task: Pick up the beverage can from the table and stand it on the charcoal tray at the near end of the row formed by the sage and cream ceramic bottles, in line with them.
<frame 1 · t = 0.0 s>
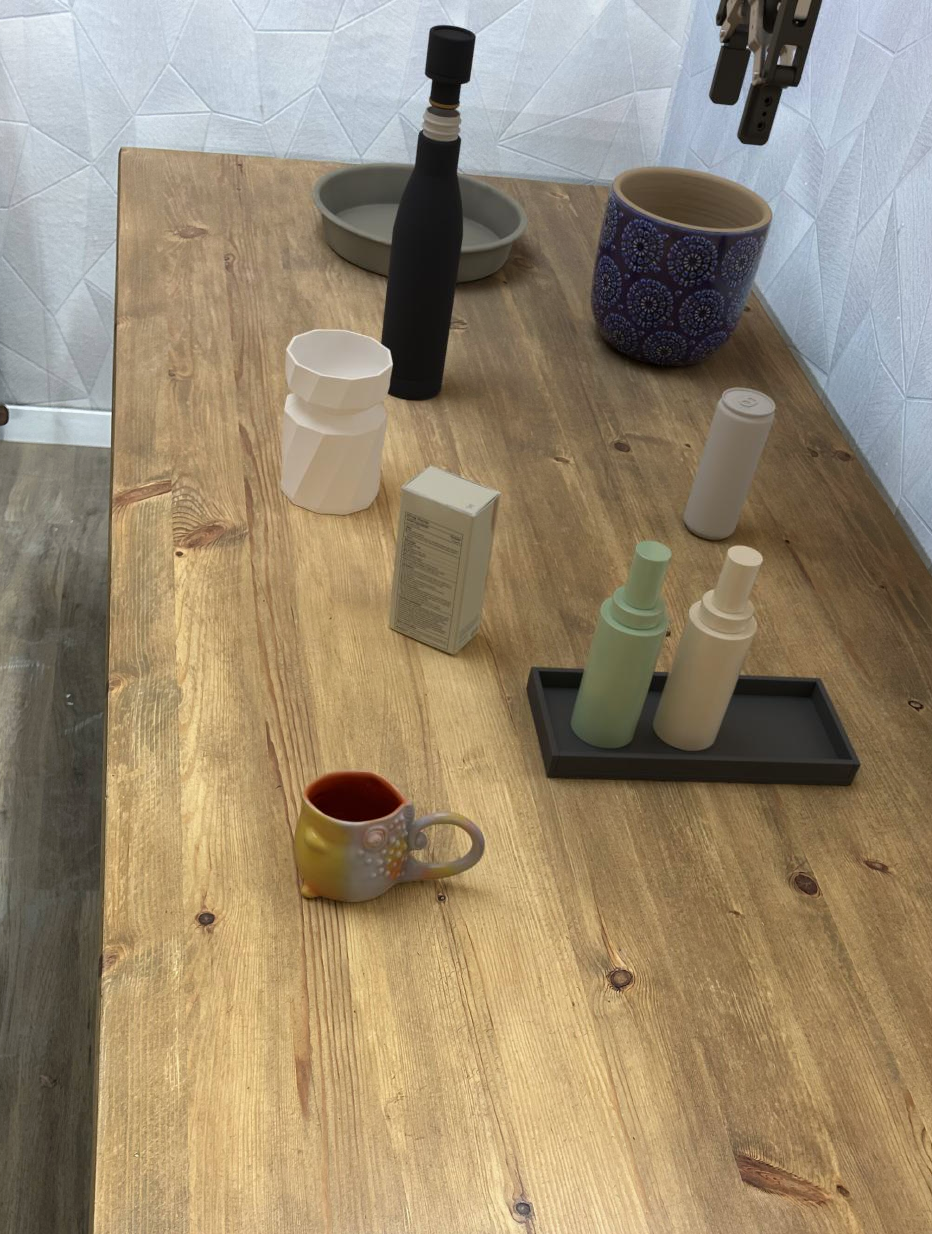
hand: (736, 122, 101), 31 cm above the table, tool pointing down, fingers open, 8 cm apart
tray: (685, 736, 101), on the table
sage bottle: (602, 727, 99), point 1 cm above the table, touching tray
cosmetic box: (431, 631, 106), on the table
vase: (328, 489, 118), on the table
mug: (383, 879, 87), on the table
black bottle: (409, 386, 133), on the table
cream bottle: (684, 730, 100), point 1 cm above the table, touching tray
planter: (654, 345, 145), on the table
beverage can: (707, 529, 121), on the table
cake pan: (415, 245, 155), on the table
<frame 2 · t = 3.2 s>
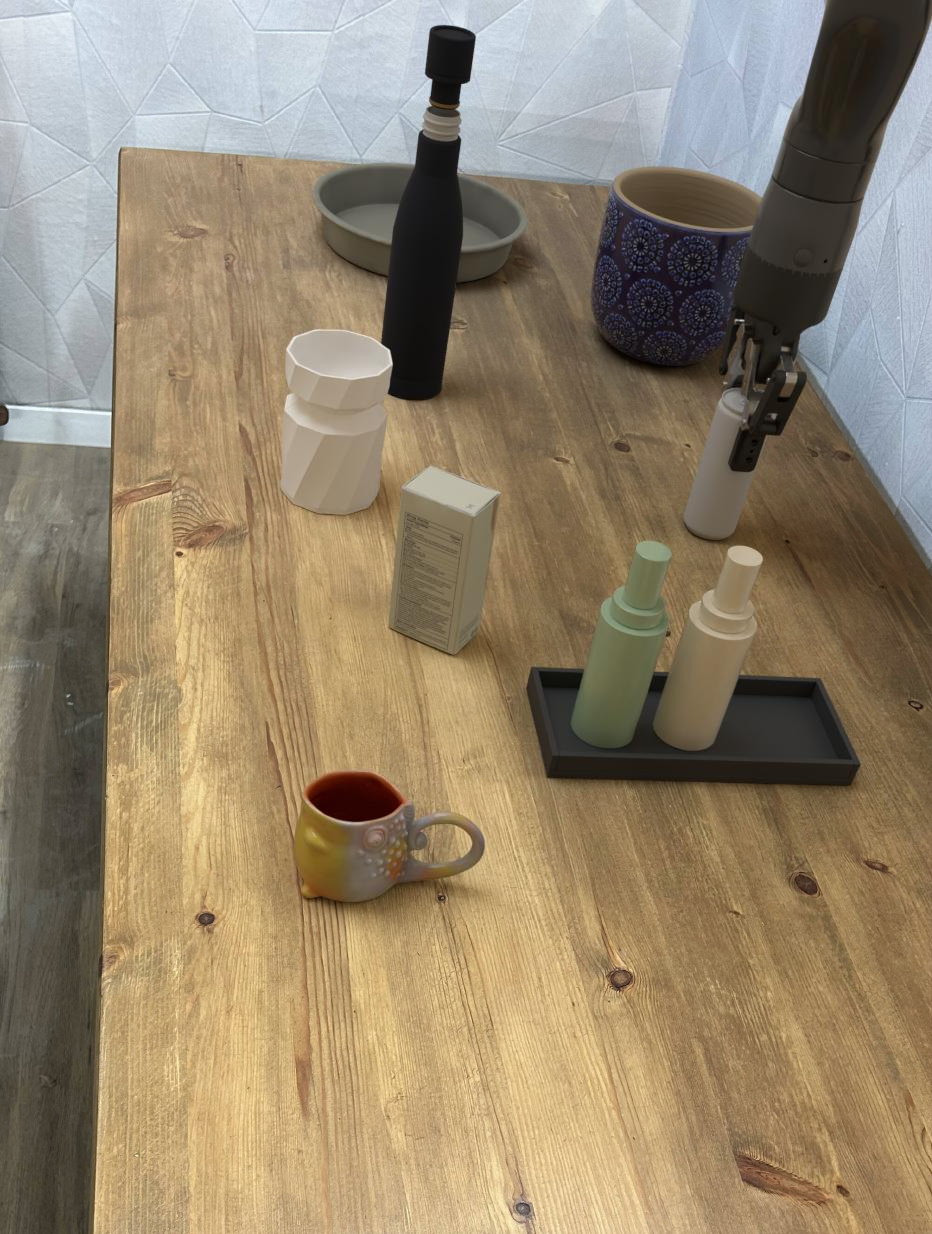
hand: (732, 451, 116), 7 cm above the table, tool pointing down, fingers closed on beverage can, 5 cm apart
beverage can: (707, 529, 121), on the table, touching gripper
everything else where it was.
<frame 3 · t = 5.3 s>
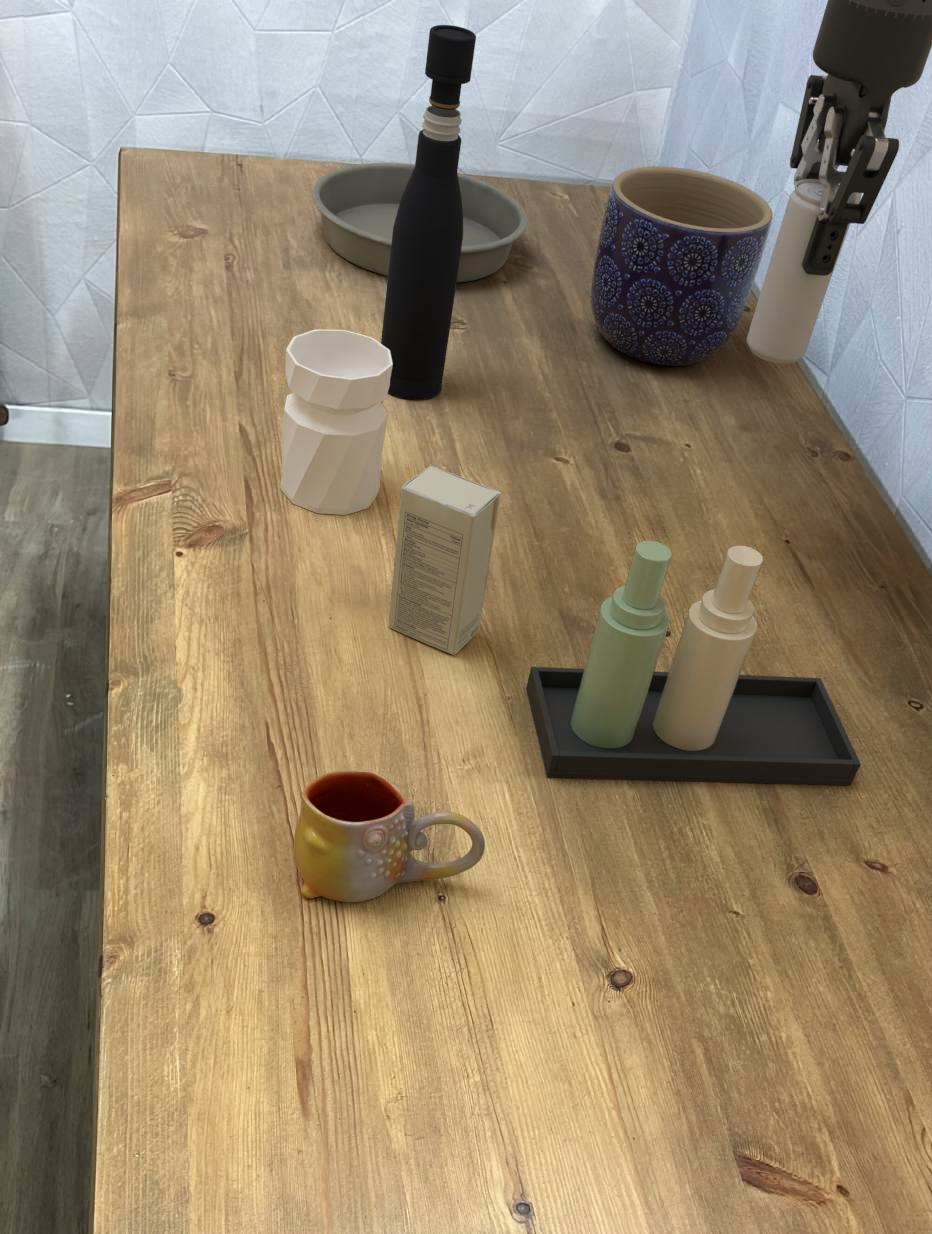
hand: (805, 256, 101), 25 cm above the table, tool pointing down, fingers closed on beverage can, 5 cm apart
beverage can: (773, 354, 107), point 17 cm above the table, touching gripper
everything else where it was.
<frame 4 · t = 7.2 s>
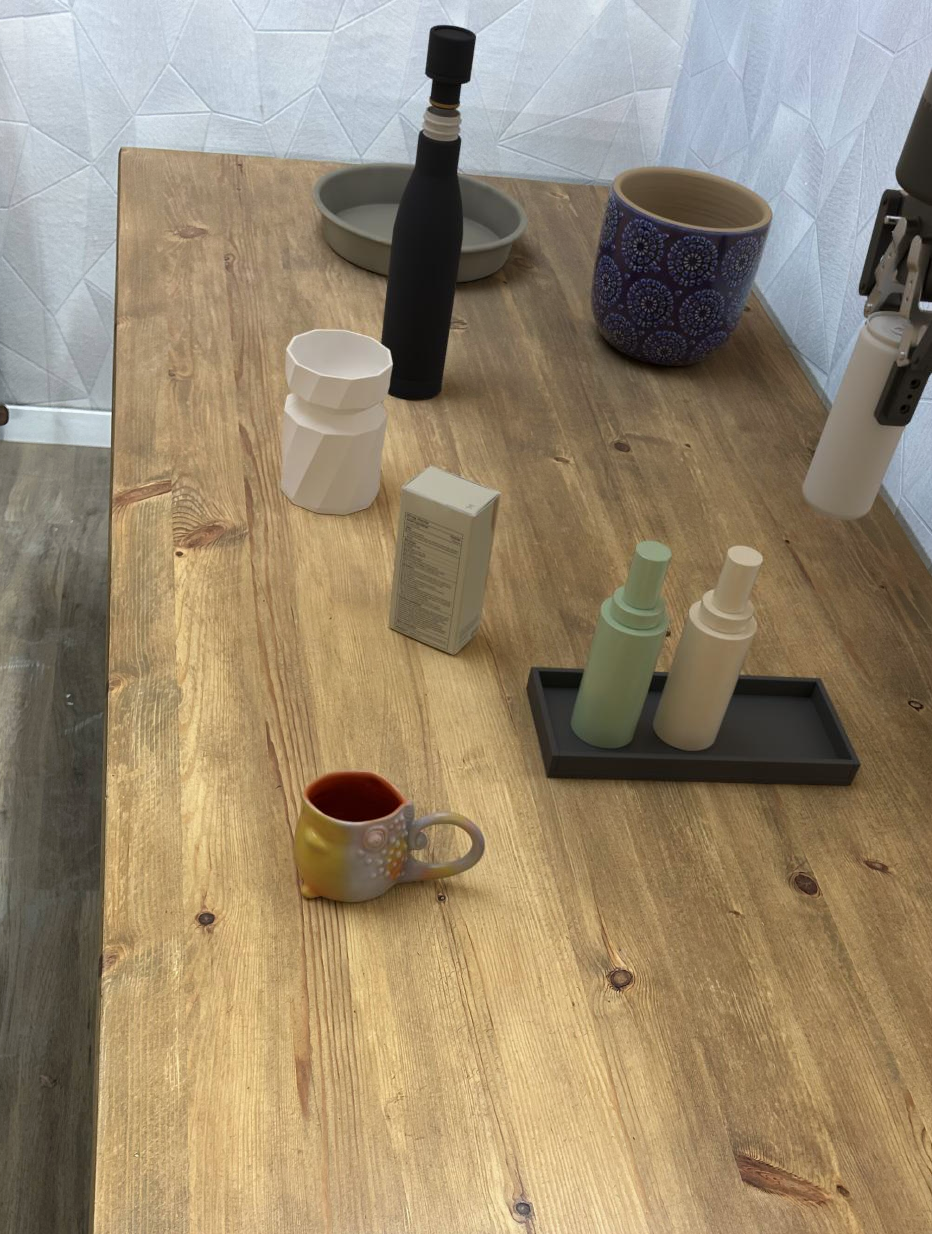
hand: (876, 400, 85), 25 cm above the table, tool pointing down, fingers closed on beverage can, 5 cm apart
beverage can: (833, 506, 91), point 18 cm above the table, touching gripper
everything else where it was.
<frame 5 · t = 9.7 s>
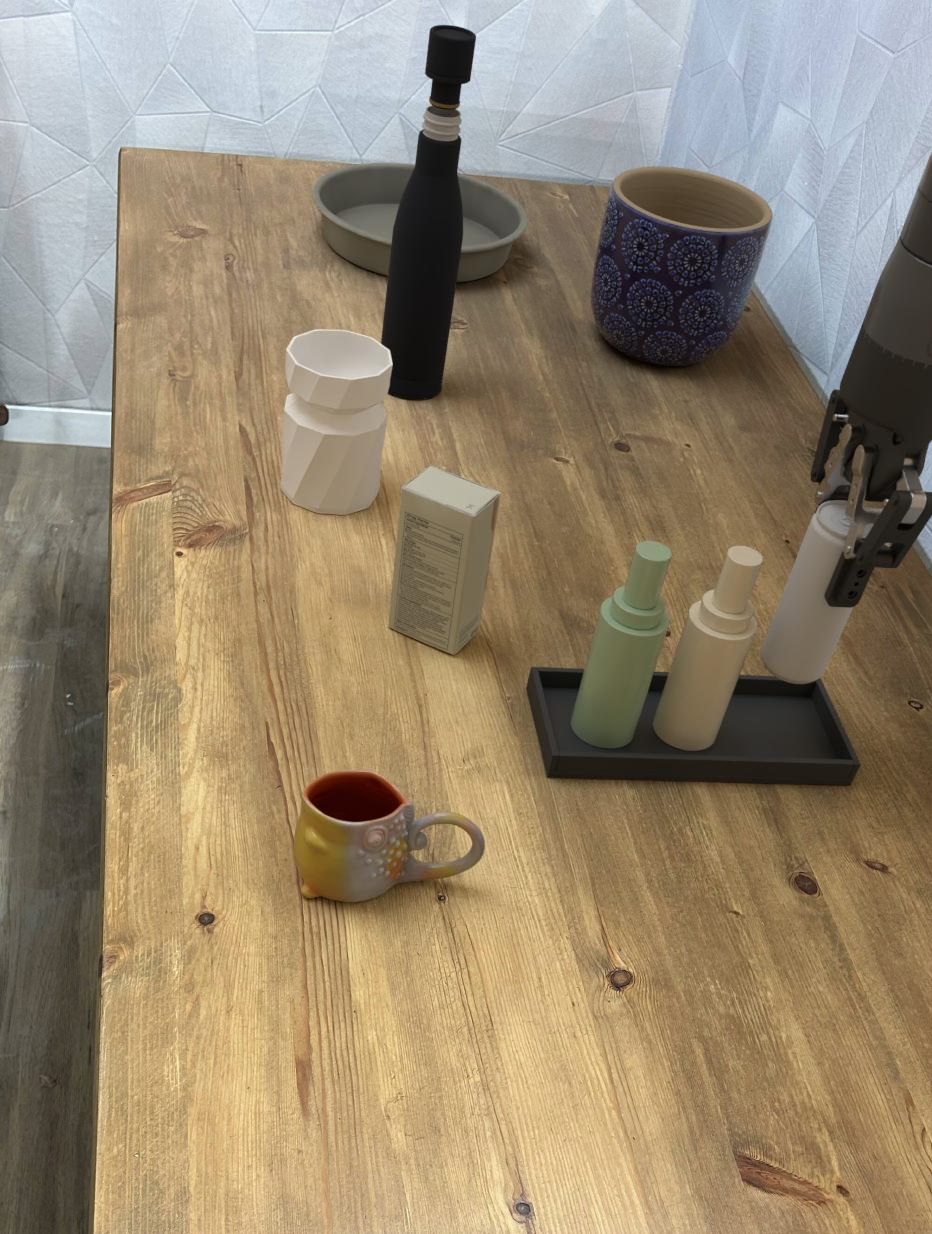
hand: (827, 579, 91), 14 cm above the table, tool pointing down, fingers closed on beverage can, 5 cm apart
beverage can: (790, 668, 97), point 7 cm above the table, touching gripper
everything else where it was.
when the fingers open (8 cm above the table, at t = 11.6 s): beverage can stays where it is, resting on tray.
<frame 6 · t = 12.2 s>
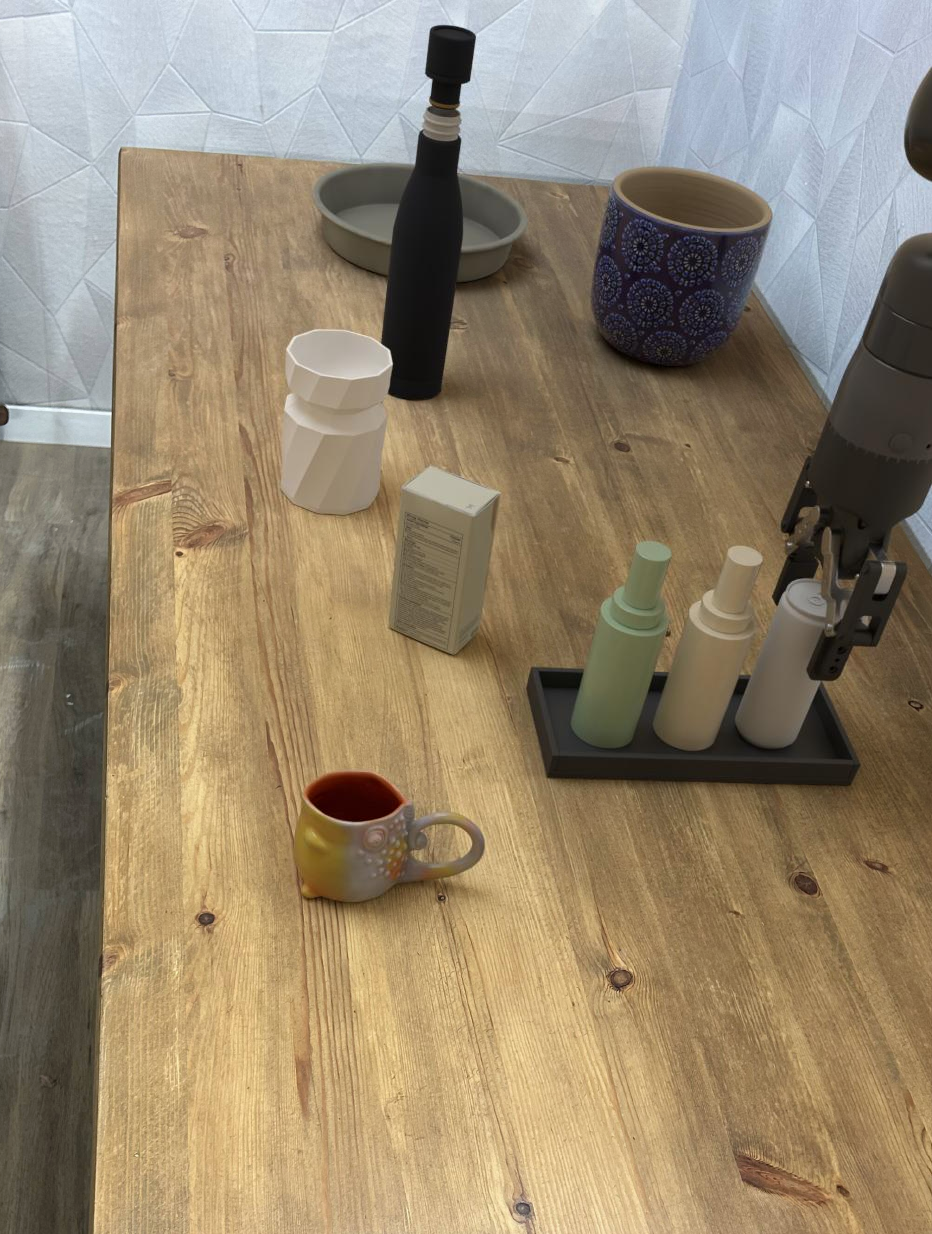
hand: (802, 639, 95), 9 cm above the table, tool pointing down, fingers open, 8 cm apart
beverage can: (763, 734, 101), resting on tray
everything else where it was.
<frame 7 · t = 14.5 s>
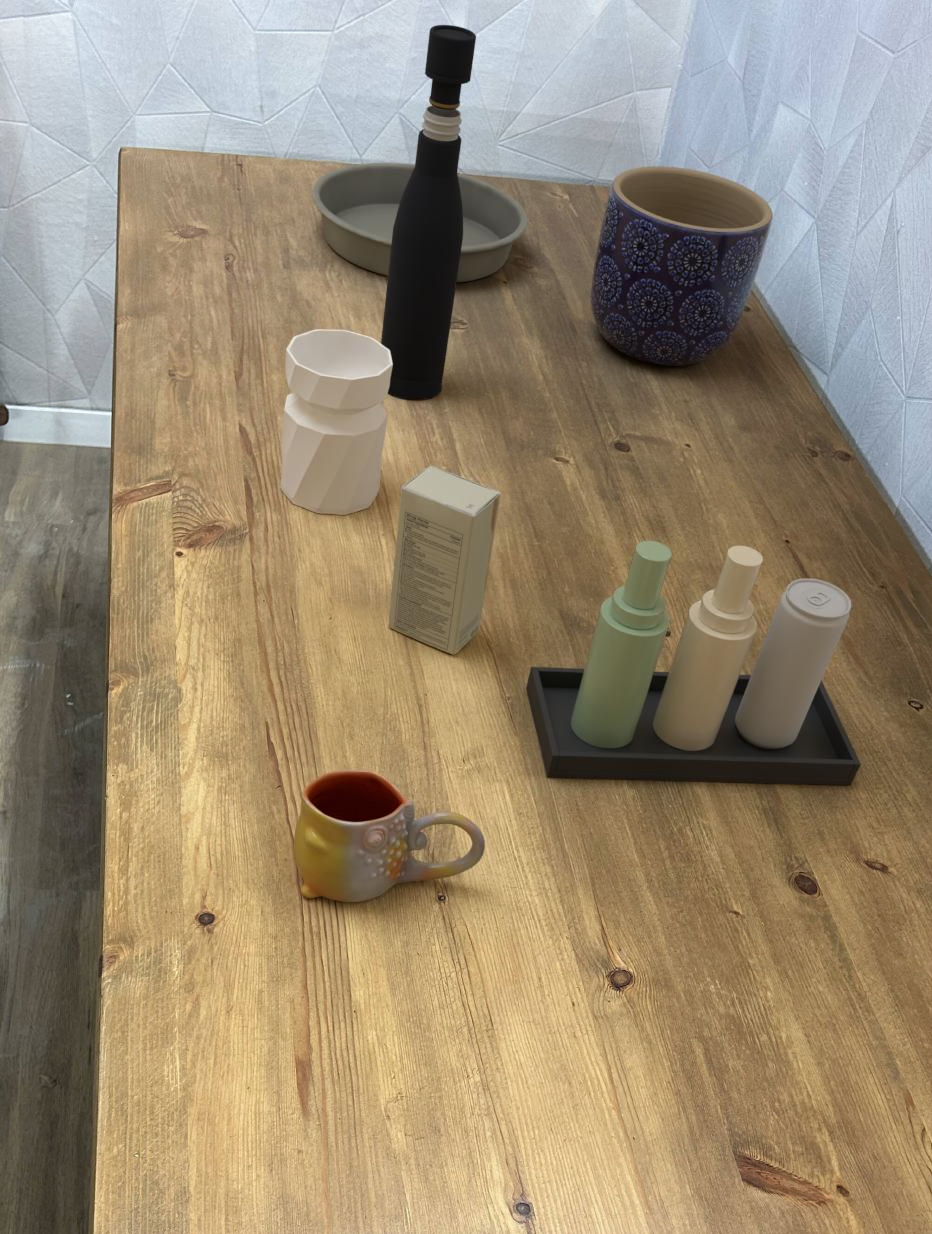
nothing on the table moved.
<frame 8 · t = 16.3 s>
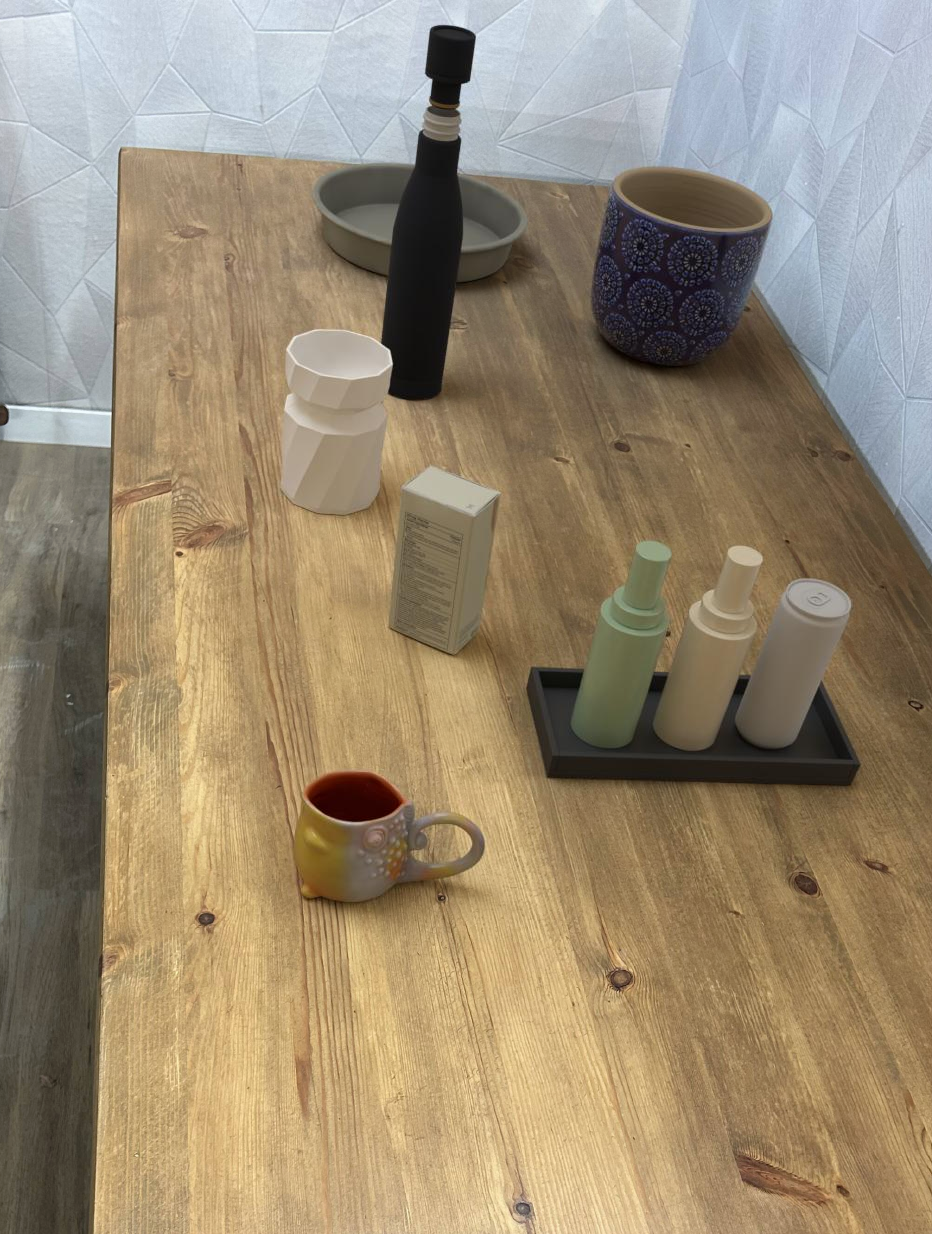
nothing on the table moved.
at the end: beverage can 0.1 cm from the target spot in the tray, point 0.4 cm above the tray's base; beverage can tilted 0°; cream bottle moved 0.0 cm from its start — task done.
